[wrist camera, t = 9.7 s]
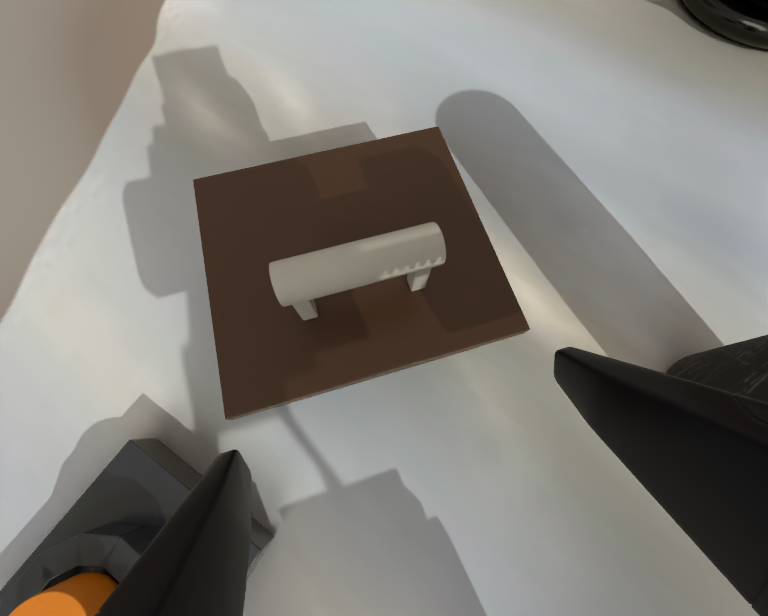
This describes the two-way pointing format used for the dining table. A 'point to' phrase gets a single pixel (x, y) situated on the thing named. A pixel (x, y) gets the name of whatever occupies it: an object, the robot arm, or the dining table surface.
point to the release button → (70, 597)
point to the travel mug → (730, 368)
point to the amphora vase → (734, 19)
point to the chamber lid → (346, 269)
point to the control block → (115, 522)
